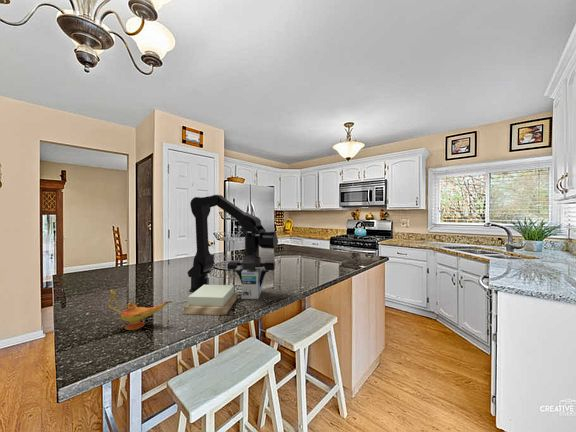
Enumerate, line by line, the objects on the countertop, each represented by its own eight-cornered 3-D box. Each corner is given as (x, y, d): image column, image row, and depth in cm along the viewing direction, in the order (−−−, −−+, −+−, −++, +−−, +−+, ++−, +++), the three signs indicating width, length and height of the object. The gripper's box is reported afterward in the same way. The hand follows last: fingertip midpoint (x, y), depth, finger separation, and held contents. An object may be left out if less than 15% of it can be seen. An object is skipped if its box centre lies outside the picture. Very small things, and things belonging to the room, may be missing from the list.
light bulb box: (258, 299, 99) (258, 271, 99) (240, 299, 99) (240, 271, 99) (261, 290, 110) (261, 265, 109) (246, 290, 110) (246, 265, 109)
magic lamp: (169, 328, 74) (169, 291, 74) (101, 333, 72) (100, 293, 71) (175, 318, 81) (175, 284, 81) (113, 322, 78) (113, 286, 78)
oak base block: (184, 316, 85) (183, 307, 85) (202, 299, 101) (202, 291, 101) (225, 317, 84) (225, 308, 84) (237, 300, 100) (237, 292, 100)
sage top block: (188, 305, 86) (188, 296, 86) (204, 292, 100) (203, 284, 100) (223, 306, 86) (223, 297, 86) (234, 292, 100) (234, 285, 100)
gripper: (223, 250, 96) (223, 292, 96) (273, 251, 95) (272, 293, 96) (231, 246, 107) (231, 283, 108) (275, 247, 106) (275, 284, 107)
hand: (252, 286), depth 104 cm, fingers closed on light bulb box, 7 cm apart
